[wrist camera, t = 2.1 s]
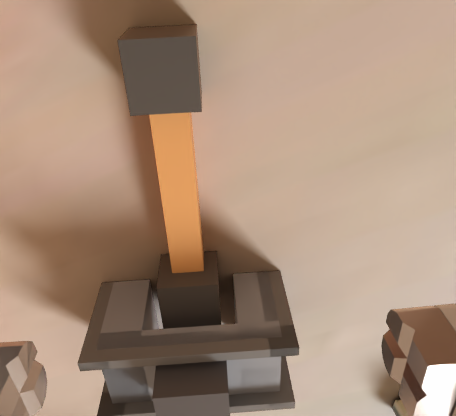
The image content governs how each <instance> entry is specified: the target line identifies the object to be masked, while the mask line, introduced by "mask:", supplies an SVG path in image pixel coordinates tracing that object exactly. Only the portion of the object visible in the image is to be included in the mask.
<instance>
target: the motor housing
mask: <svg viewBox="0 0 456 416" xmlns="http://www.w3.org/2000/svg"><path fill="white" fill-rule="evenodd" d="M233 286H234V308H235V324H225V325H211V326H197V327H183V328H168V329H159V327H158V321H157V316H156V310H155V305H154V300H153V294H152V289H151V283H150V279H149V280H134V281H120V282H105V283H102V284H101V287H100V291H99V294H98V297H97V301H96V304H95V307H94V311H93V314H92V317H91V321H90V324H89V327H88V331H87V334H86V337H85V341H84V344H83V347H82V351H81V354H80V357H79V361H78V366H79V369H80V371H89V370H102V372H103V375H104V378H105V383H104V387H103V392H102V396H101V401H100V405H99V409H98V414H97V416H230V413H239V412H252V411H265V410H278V409H291V408H295V399H294V395H293V390H292V385H291V380H290V375H289V371H288V366H287V361H286V356H294V355H299V345H298V341H297V337H296V333H295V329H294V325H293V321H292V317H291V312H290V308H289V304H288V300H287V296H286V292H285V288H284V284H283V280H282V276H281V272H280V271H267V272H252V273H238V274H233Z"/></svg>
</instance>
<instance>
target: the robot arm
mask: <svg viewBox="0 0 456 416" xmlns="http://www.w3.org/2000/svg"><path fill="white" fill-rule="evenodd" d="M386 323H387V325H388V327H389V329H390V330H389V331H387V332H386V333H385V334H384V335H383V340H382V355H383V360H384V363H385V367H386V369H387V371H388V373H389V375H390V377H391V378H393V379H394V380H395V381H397V382H398V383H399V384H401V385H400V389H399V393H398V395H399V397H400V399H401V401H402V403H403V405H404V407H405V409H406V411H407V413H408V415H409V416H456V304H446V305H435V306H423V307H413V308H403V309H392V310H390V312H389V313H388V315H387V319H386ZM36 354H37V350H36V348H35V346H34V344H33V342H31V341H18V342H1V343H0V416H34V415H35V414H36V413H37V412H38V411H39V410H40V409H41V408H42V406H43V403H44V400H45V397H46V388H47V378H46V372H45V369H44V367H43V365H42V364H40V363H39V362H37V361H36V360H34V359H35V357H36Z"/></svg>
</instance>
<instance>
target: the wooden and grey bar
mask: <svg viewBox="0 0 456 416" xmlns="http://www.w3.org/2000/svg"><path fill="white" fill-rule="evenodd" d="M118 46H119V52H120V58H121V63H122V69H123V75H124V81H125V87H126V93H127V99H128V104H129V110H130V116H136V115H149V117H150V124H151V131H152V138H153V145H154V152H155V158H156V165H157V172H158V179H159V186H160V193H161V200H162V206H163V213H164V220H165V227H166V234H167V241H168V248H169V254H163V255H161V258H160V266H159V274H158V281H157V294H158V300H159V306H160V311H161V317H162V323H163V328H164V329H168V328H183V327H197V326H211V325H221V312H220V294H219V279H218V265H217V251H208V252H204V251H203V240H202V229H201V217H200V206H199V195H198V184H197V173H196V162H195V151H194V140H193V129H192V118H191V112H202V90H201V77H200V63H199V50H198V36H197V24H194V25H175V26H155V27H136V28H128V30H127V31H126V32H125V33H124V34H123V35H122V36H121V37H120V38H119V39H118Z"/></svg>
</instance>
